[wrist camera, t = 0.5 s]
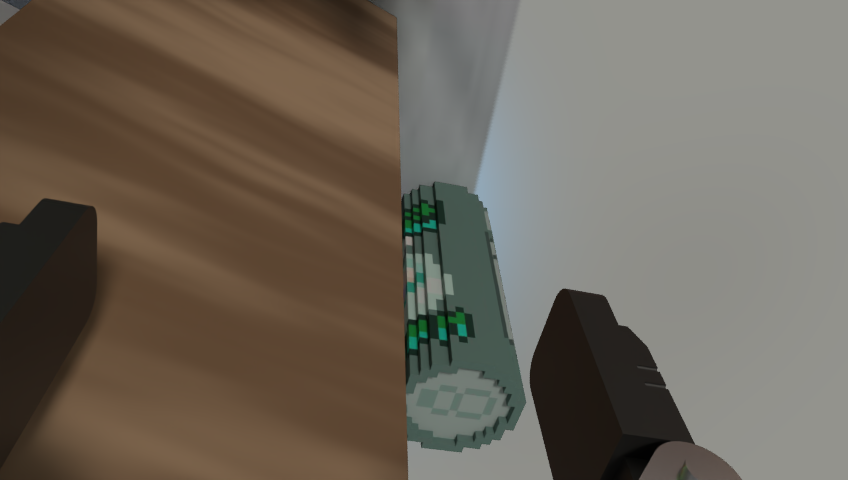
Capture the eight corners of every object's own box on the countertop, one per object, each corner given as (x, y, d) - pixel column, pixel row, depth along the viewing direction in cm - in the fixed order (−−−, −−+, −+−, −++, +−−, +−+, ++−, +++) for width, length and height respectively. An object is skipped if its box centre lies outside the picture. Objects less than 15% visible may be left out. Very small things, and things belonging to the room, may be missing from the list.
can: (401, 175, 43) (407, 353, 31) (498, 193, 44) (540, 372, 32) (382, 254, 47) (380, 442, 35) (472, 269, 48) (500, 456, 36)
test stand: (175, -114, 34) (-699, 580, 7) (396, 17, 38) (415, 782, 11) (96, 91, 40) (-544, 909, 12) (295, 186, 44) (140, 960, 16)
